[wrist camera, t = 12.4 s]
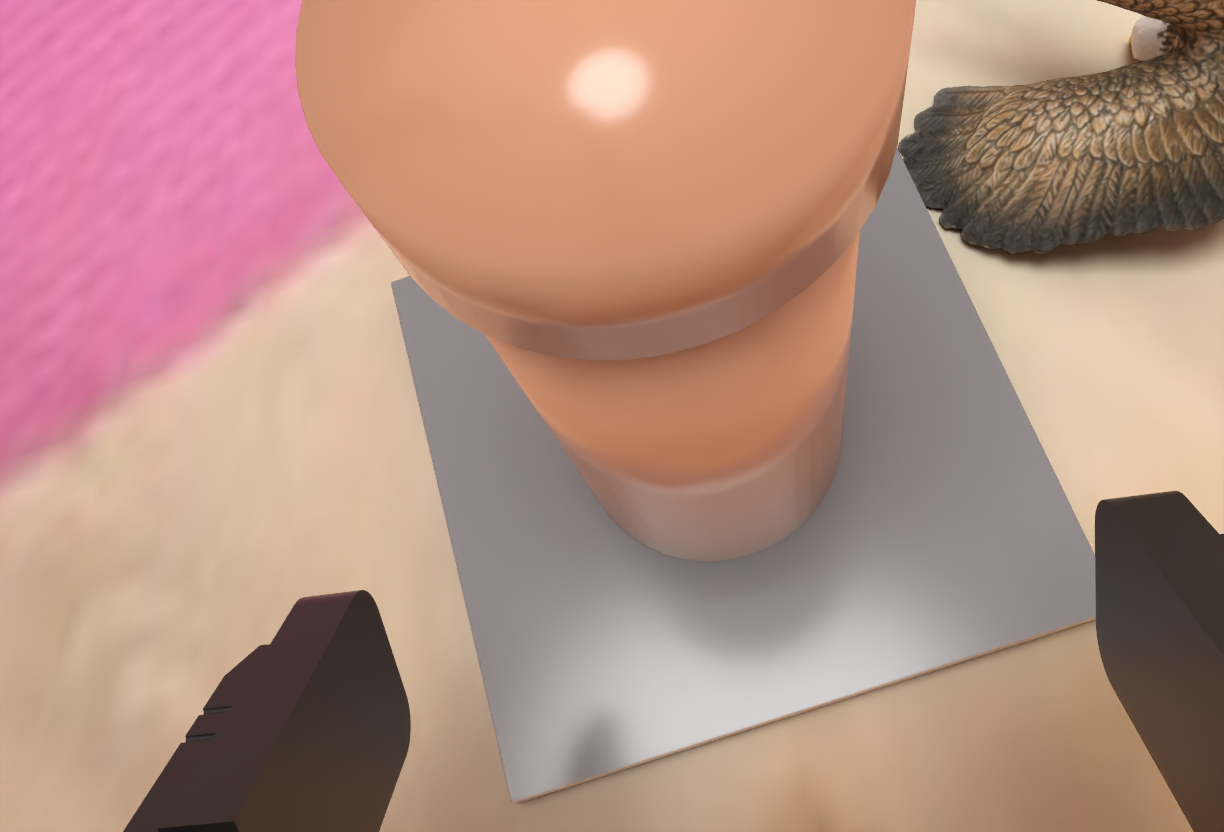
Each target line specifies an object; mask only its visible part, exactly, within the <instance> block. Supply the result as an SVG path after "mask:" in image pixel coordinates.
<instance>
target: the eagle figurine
mask: <svg viewBox="0 0 1224 832" xmlns="http://www.w3.org/2000/svg"><path fill="white" fill-rule="evenodd" d="M1097 1H1101V2H1105V3H1109V4H1112V5H1115V6H1118V7H1121V8H1124V9H1127V10H1130V11H1133V12H1137V13H1139V14H1142V15H1144V16H1145V17H1142V18H1140V19H1139V20H1138V21H1137V22H1136V24H1135V25H1134V27H1133V30H1132V35H1131V37H1130V44H1131V47H1132V53H1133V57H1134V58H1135V59H1138V60H1141V61H1143V62H1140V63H1136V64H1132V65H1128V66H1124V67H1120V68H1118V69H1115V70H1112V71H1108V72H1103V73H1098V74H1092V75H1085V76H1079V77H1070V78H1061V79H1054V80H1047V81H1042V82H1038V83H1033V84H1028V85H1015V86H987V87H980V86H962V87H953V88H944V89H941V90H940V91H938V92H937V94H936V95H935V96H934V105H933V106H932V107H930V108H928V109H926V110H925V111H923V112H920V113H919V114H918V115H916V117H915V119H914V124H915V128H916V133H913V134H910V135H907V136H906V137H905V138H903V139H902V140H901V141H900V143H899V146H898V150H899V152H900V153H901V154H902V156H903V157H904V159H903V161H904V163H905V165H906V168H907V170H908V172H909V174H910V176H911V178H912V180H913V182H914V184H915V186H916V188H917V190H918V192H919V194H920V196H921V198H922V200H923V203H924V205H925V206H928V207H931V208H943V209H944V211H943V213H942V214H941V216H940V218H939V222H940V223H941V224H942V226H943V227H945V228H955V229H962V230H963V231H962V233H961V236H962V237H963V239H964V240H965V241H967V242H968V243H970V244H975V245H980V246H983V247H985V248H989V249H997V248H1002V249H1003V250H1005V251H1007V252H1009V253H1012V254H1014V253H1017V254H1019V253H1022V252H1025V251H1028V250H1032V251H1034V252H1036V253H1048V252H1051V251H1053V249H1055V248H1056V247H1058V246H1059V245H1061V244H1066V245H1076V244H1091V243H1093V242H1096V241H1098V240H1099V239H1101V238H1102V237H1104V236H1105V235H1106V233H1110V234H1112V235H1114V236H1124V235H1126V234H1128V233H1131V232H1136V233H1142V234H1143V233H1144V232H1148V231H1150V230H1153V229H1155V228H1156V227H1158V226H1164V227H1165V228H1166V230H1168V231H1177V230H1179V229H1187V230H1190V231H1193V230H1198V229H1200V228H1201V227H1203V226H1204V225H1206V224H1213V223H1216V222H1218V221H1220V220H1222V219H1223V218H1224V0H1097Z"/></svg>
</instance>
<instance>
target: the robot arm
mask: <svg viewBox="0 0 1224 832" xmlns="http://www.w3.org/2000/svg"><path fill="white" fill-rule="evenodd" d="M1095 583H1096V631H1097V639H1098V645H1099V650H1100V654H1101V658H1102V662H1103V665H1104V668H1105V671H1106V674H1107V676H1108V679H1109V681H1110V683H1111V685H1112V687H1113V689H1114V691H1115V692H1116V694H1117V696H1118V698H1119V700H1120V701H1121V703H1122V705H1123V707H1124V708H1125V710H1126V712H1127V714H1128V715H1129V717H1130V719H1131V721H1132V723H1133V724H1134V726H1135V728H1136V730H1137V731H1138V733H1139V735H1140V737H1141V739H1142V740H1143V742H1144V744H1145V746H1146V747H1147V749H1148V751H1149V753H1150V755H1151V756H1152V758H1153V760H1154V762H1155V763H1156V765H1157V767H1158V769H1159V770H1160V772H1161V774H1162V776H1163V778H1164V779H1165V781H1166V783H1167V785H1168V786H1169V788H1170V790H1171V792H1172V794H1173V795H1174V797H1175V799H1176V801H1177V802H1178V804H1179V806H1180V808H1181V810H1182V811H1183V813H1184V815H1185V817H1186V818H1187V820H1188V822H1189V824H1190V825H1191V827H1192V829H1193V831H1194V832H1224V534H1219V533H1218V532H1217V531H1216V530H1215V529H1214V528H1213V527H1212V526H1211V524H1210V523H1209V522H1208V521H1207V520H1206V519H1205V518H1204V517H1203V516H1202V514H1201V513H1200V512H1199V511H1198V510H1197V509H1196V508H1195V507H1194V505H1193V504H1192V503H1191V502H1190V501H1189V500H1188V499H1187V498H1186V497H1185V496H1184V495H1183V494H1182V493H1180V492H1179V491H1171V492H1163V493H1154V494H1146V495H1138V496H1130V497H1122V498H1114V499H1106V500H1102V501H1100V502H1099V504H1098V506H1097V509H1096V514H1095ZM203 710H204V714H203V715H199V716H198V718H197V719H196V721H195V722H194V724H193V725H192V727H191V728H190V730H189V731H188V733H187V734H186V742H185V743H181V744H180V745H179V747H178V748H177V750H176V751H175V753H174V754H173V756H172V757H171V759H170V761H169V762H168V764H167V765H166V767H165V768H164V770H163V771H162V773H161V774H160V776H159V777H158V779H157V781H156V782H155V784H154V785H153V787H152V788H151V790H150V791H149V793H148V794H147V796H146V797H145V799H144V800H143V802H142V804H141V805H140V807H139V808H138V810H137V811H136V813H135V814H134V816H133V817H132V819H131V820H130V822H129V823H128V825H127V827H126V828H125V830H124V831H123V832H379V830H380V827H381V824H382V821H383V819H384V816H385V813H386V810H387V808H388V805H389V802H390V799H391V797H392V794H393V791H394V788H395V785H396V783H397V780H398V777H399V774H400V772H401V769H402V766H403V763H404V761H405V758H406V755H407V752H408V747H409V742H410V730H411V726H410V711H409V704H408V699H407V696H406V692H405V689H404V686H403V683H402V680H401V677H400V674H399V671H398V668H397V665H396V662H395V659H394V656H393V653H392V650H391V647H390V644H389V641H388V637H387V634H386V631H385V628H384V625H383V622H382V619H381V616H380V613H379V610H378V607H377V605H376V603H375V601H374V599H373V597H372V596H371V595H370V594H369V593H368V592H367V591H365V590H359V591H351V592H343V593H335V594H327V595H319V596H311V597H304V598H301V599H299V600H298V601H297V602H296V604H295V605H294V607H293V608H292V610H291V611H290V613H289V615H288V616H287V618H286V620H285V621H284V623H283V624H282V626H281V628H280V629H279V631H278V633H277V634H276V636H275V637H274V639H273V641H272V642H271V644H269V645H261V646H259V647H258V648H257V649H255V650H254V651H253V652H252V653H251V654H250V655H248V656H247V657H246V658H245V659H244V660H243V661H241V662H240V663H239V664H238V665H237V666H236V667H234V668H233V669H232V670H231V671H230V672H229V673H227V674H226V675H225V676H224V678H223V679H222V681H221V682H220V684H219V685H218V687H217V688H216V690H215V691H214V693H213V695H212V696H211V698H210V699H209V701H208V702H207V704H206V705H205V707H204V708H203Z"/></svg>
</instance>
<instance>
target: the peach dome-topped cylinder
mask: <svg viewBox="0 0 1224 832" xmlns="http://www.w3.org/2000/svg"><path fill="white" fill-rule="evenodd" d="M915 5H916V0H303V1H302V6H301V11H300V17H299V22H298V27H297V32H296V55H295V67H296V76H297V84H298V93H299V98H300V101H301V105H302V108H303V112H304V115H305V119H306V122H307V126H308V128H309V130H310V132H311V134H312V136H313V138H314V140H315V142H316V145H317V147H318V149H319V151H320V153H321V155H322V156H323V158H324V159H325V161H326V162H327V163H328V165H329V166H330V168H331V169H332V171H333V172H334V173H335V175H336V176H337V178H338V179H339V181H340V182H341V183H342V185H343V186H344V187H345V189H346V190H347V191H348V193H349V194H350V195H351V197H352V198H353V199H354V201H355V202H356V203H357V205H358V206H359V207H360V209H361V210H362V211H363V213H364V214H365V216H366V217H367V218H368V220H369V221H370V222H371V224H372V225H373V226H374V228H375V229H376V230H377V232H378V233H379V234H380V236H381V237H382V238H383V240H384V241H385V242H386V244H387V245H388V246H389V248H390V249H391V250H392V252H393V253H394V255H395V256H396V257H397V259H398V260H399V261H400V263H401V264H402V265H403V267H404V268H405V269H406V271H407V272H408V273H409V275H410V276H411V277H412V279H413V280H414V281H415V282H416V283H417V284H418V285H419V286H420V287H421V288H422V289H423V290H424V291H425V292H426V293H427V294H428V295H429V296H430V297H431V298H432V299H433V301H435V302H436V303H437V304H438V305H440V306H441V307H442V308H444V309H445V310H446V311H448V312H449V313H450V314H452V315H453V316H454V317H456V318H457V319H458V320H460V321H461V322H463V323H465V324H467V325H469V326H470V327H472V328H474V329H476V330H478V331H479V332H481V333H483V334H485V335H486V337H487V338H488V340H489V341H490V343H491V344H492V346H493V347H494V349H495V350H496V352H497V353H498V355H499V356H500V358H501V359H502V360H503V362H504V363H505V365H506V366H507V368H508V369H509V371H510V372H511V374H512V375H513V377H514V378H515V380H516V381H517V383H518V384H519V385H520V387H521V388H522V390H523V391H524V393H525V394H526V396H527V397H528V399H529V400H530V402H531V403H532V405H533V406H534V408H535V409H536V410H537V412H538V413H539V415H540V416H541V418H542V419H543V421H544V422H545V424H546V425H547V427H548V428H549V430H550V431H551V433H552V434H553V436H554V437H555V438H556V440H557V441H558V443H559V444H560V446H561V447H562V449H563V450H564V452H565V453H566V455H567V456H568V458H569V459H570V461H571V462H572V463H573V465H574V466H575V468H576V469H577V471H578V472H579V474H580V475H581V477H582V478H583V480H584V481H585V483H586V484H587V486H588V487H589V489H590V490H591V491H592V493H593V494H594V496H595V497H596V499H597V500H598V502H599V503H600V505H601V506H602V507H603V509H604V510H605V512H606V513H607V514H608V516H609V517H610V518H611V519H612V520H613V521H614V522H615V523H616V524H617V525H618V526H619V527H620V528H621V529H622V530H623V531H625V532H626V533H627V534H628V535H630V536H631V537H632V538H633V539H635V540H637V541H638V542H640V543H642V544H643V545H645V546H647V547H649V548H651V549H653V550H656V551H658V552H660V553H663V554H666V555H670V556H673V557H677V558H680V559H687V560H694V561H722V560H730V559H736V558H740V557H744V556H748V555H751V554H754V553H756V552H759V551H762V550H764V549H767V548H769V547H770V546H772V545H774V544H776V543H778V542H780V541H781V540H783V539H784V538H786V537H787V536H789V535H790V534H791V533H793V532H794V531H795V530H797V529H798V528H799V527H800V526H801V525H802V524H803V523H804V522H805V521H806V520H807V519H808V518H809V517H810V516H811V515H812V514H813V512H814V511H815V510H816V509H817V507H818V506H819V505H820V503H821V502H822V500H823V498H824V497H825V495H826V493H827V492H828V490H829V488H830V486H831V483H832V481H833V479H834V476H835V474H836V470H837V467H838V463H839V459H840V453H841V445H842V434H843V423H844V411H845V399H846V388H847V376H848V364H849V353H850V341H851V329H852V317H853V306H854V294H855V282H856V271H857V259H858V247H859V236H860V230H861V228H862V227H863V225H864V224H865V222H866V220H867V219H868V217H869V216H870V214H871V212H872V211H873V209H874V208H875V206H876V204H877V201H878V199H879V197H880V195H881V192H882V190H883V188H884V186H885V183H886V181H887V179H888V176H889V174H890V170H891V166H892V163H893V159H894V155H895V152H896V148H897V144H898V137H899V129H900V122H901V114H902V106H903V99H904V91H905V83H906V76H907V68H908V60H909V53H910V45H911V37H912V30H913V22H914V14H915Z"/></svg>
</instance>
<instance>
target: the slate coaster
mask: <svg viewBox="0 0 1224 832" xmlns="http://www.w3.org/2000/svg"><path fill="white" fill-rule="evenodd" d="M391 285H392V290H393V294H394V298H395V302H396V307H397V311H398V315H399V320H400V324H401V328H402V333H403V337H404V341H405V345H406V350H407V354H408V358H409V363H410V367H411V371H412V376H413V380H414V384H415V389H416V393H417V397H418V401H419V406H420V410H421V414H422V419H423V423H424V427H425V432H426V436H427V440H428V445H429V449H430V453H431V457H432V462H433V466H434V470H435V475H436V479H437V483H438V488H439V492H440V496H441V500H442V505H443V509H444V513H445V518H446V522H447V526H448V531H449V535H450V539H451V544H452V548H453V552H454V556H455V561H456V565H457V569H458V574H459V578H460V582H461V587H462V591H463V595H464V600H465V604H466V608H467V612H468V617H469V621H470V625H471V630H472V634H473V638H474V643H475V647H476V651H477V655H478V660H479V664H480V668H481V673H482V677H483V681H484V686H485V690H486V694H487V699H488V703H489V707H490V711H491V716H492V720H493V724H494V729H495V733H496V737H497V742H498V746H499V750H500V755H501V759H502V763H503V767H504V772H505V776H506V780H507V785H508V789H509V793H510V798H511V802H517V803H521V802H524V801H527V800H530V799H533V798H536V797H540V796H543V795H546V794H549V793H552V792H555V791H558V790H562V789H565V788H568V787H571V786H574V785H577V784H580V783H584V782H587V781H590V780H593V779H596V778H599V777H602V776H606V775H609V774H612V773H615V772H618V771H621V770H624V769H628V768H631V767H634V766H637V765H640V764H643V763H646V762H650V761H653V760H656V759H659V758H662V757H665V756H668V755H672V754H675V753H678V752H681V751H684V750H687V749H691V748H694V747H697V746H700V745H703V744H706V743H709V742H713V741H716V740H719V739H722V738H725V737H728V736H731V735H735V734H738V733H741V732H744V731H747V730H750V729H753V728H757V727H760V726H763V725H766V724H769V723H772V722H775V721H779V720H782V719H785V718H788V717H791V716H794V715H797V714H801V713H804V712H807V711H810V710H813V709H816V708H819V707H823V706H826V705H829V704H832V703H835V702H838V701H841V700H845V699H848V698H851V697H854V696H857V695H860V694H863V693H867V692H870V691H873V690H876V689H879V688H882V687H885V686H889V685H892V684H895V683H898V682H901V681H904V680H907V679H911V678H914V677H917V676H920V675H923V674H926V673H929V672H933V671H936V670H939V669H942V668H945V667H948V666H951V665H955V664H958V663H961V662H964V661H967V660H970V659H973V658H977V657H980V656H983V655H986V654H989V653H992V652H995V651H999V650H1002V649H1005V648H1008V647H1011V646H1014V645H1017V644H1021V643H1024V642H1027V641H1030V640H1033V639H1036V638H1040V637H1043V636H1046V635H1049V634H1052V633H1055V632H1058V631H1062V630H1065V629H1068V628H1071V627H1074V626H1077V625H1080V624H1084V623H1087V622H1090V621H1093V620H1096V583H1095V555H1094V553H1093V551H1092V549H1091V547H1090V545H1089V543H1088V540H1087V538H1086V536H1085V534H1084V532H1083V530H1082V528H1081V526H1080V524H1079V522H1078V520H1077V518H1076V516H1075V514H1074V512H1073V510H1072V507H1071V505H1070V503H1069V501H1068V499H1067V497H1066V495H1065V493H1064V491H1063V489H1062V487H1061V485H1060V483H1059V481H1058V479H1057V477H1056V475H1055V472H1054V470H1053V468H1052V466H1051V464H1050V462H1049V460H1048V458H1047V456H1046V454H1045V452H1044V450H1043V448H1042V446H1041V444H1040V442H1039V439H1038V437H1037V435H1036V433H1035V431H1034V429H1033V427H1032V425H1031V423H1030V421H1029V419H1028V417H1027V415H1026V413H1025V411H1024V409H1023V407H1022V404H1021V402H1020V400H1019V398H1018V396H1017V394H1016V392H1015V390H1014V388H1013V386H1012V384H1011V382H1010V380H1009V378H1008V376H1007V374H1006V371H1005V369H1004V367H1003V365H1002V363H1001V361H1000V359H999V357H998V355H997V353H996V351H995V349H994V347H993V345H992V343H991V341H990V339H989V336H988V334H987V332H986V330H985V328H984V326H983V324H982V322H981V320H980V318H979V316H978V314H977V312H976V310H975V308H974V306H973V303H972V301H971V299H970V297H969V295H968V293H967V291H966V289H965V287H964V285H963V283H962V281H961V279H960V277H959V275H958V273H957V271H956V268H955V266H954V264H953V262H952V260H951V258H950V256H949V254H948V252H947V250H946V248H945V246H944V244H943V242H942V240H941V238H940V236H939V233H938V231H937V229H936V227H935V225H934V223H933V221H932V219H931V217H930V215H929V213H928V211H927V209H926V207H925V205H924V203H923V200H922V198H921V196H920V194H919V192H918V190H917V188H916V186H915V184H914V182H913V180H912V178H911V176H910V174H909V172H908V170H907V168H906V165H905V163H904V161H903V159H902V157H901V155H900V153H899V151H898V149H897V148H896V152H895V155H894V159H893V163H892V166H891V170H890V174H889V176H888V179H887V181H886V183H885V186H884V188H883V190H882V192H881V195H880V197H879V199H878V201H877V204H876V206H875V208H874V209H873V211H872V212H871V214H870V216H869V217H868V219H867V220H866V222H865V224H864V225H863V227H862V228H861V230H860V236H859V247H858V259H857V271H856V282H855V294H854V306H853V317H852V329H851V341H850V353H849V364H848V376H847V388H846V399H845V411H844V423H843V434H842V445H841V453H840V459H839V463H838V467H837V470H836V474H835V476H834V479H833V481H832V483H831V486H830V488H829V490H828V492H827V493H826V495H825V497H824V498H823V500H822V502H821V503H820V505H819V506H818V507H817V509H816V510H815V511H814V512H813V514H812V515H811V516H810V517H809V518H808V519H807V520H806V521H805V522H804V523H803V524H802V525H801V526H800V527H799V528H798V529H797V530H795V531H794V532H793V533H791V534H790V535H789V536H787V537H786V538H784V539H783V540H781V541H780V542H778V543H776V544H774V545H772V546H770V547H769V548H767V549H764V550H762V551H759V552H756V553H754V554H751V555H748V556H744V557H740V558H736V559H730V560H722V561H694V560H687V559H680V558H677V557H673V556H670V555H666V554H663V553H660V552H658V551H656V550H653V549H651V548H649V547H647V546H645V545H643V544H642V543H640V542H638V541H637V540H635V539H633V538H632V537H631V536H630V535H628V534H627V533H626V532H625V531H623V530H622V529H621V528H620V527H619V526H618V525H617V524H616V523H615V522H614V521H613V520H612V519H611V518H610V517H609V516H608V514H607V513H606V512H605V510H604V509H603V507H602V506H601V505H600V503H599V502H598V500H597V499H596V497H595V496H594V494H593V493H592V491H591V490H590V489H589V487H588V486H587V484H586V483H585V481H584V480H583V478H582V477H581V475H580V474H579V472H578V471H577V469H576V468H575V466H574V465H573V463H572V462H571V461H570V459H569V458H568V456H567V455H566V453H565V452H564V450H563V449H562V447H561V446H560V444H559V443H558V441H557V440H556V438H555V437H554V436H553V434H552V433H551V431H550V430H549V428H548V427H547V425H546V424H545V422H544V421H543V419H542V418H541V416H540V415H539V413H538V412H537V410H536V409H535V408H534V406H533V405H532V403H531V402H530V400H529V399H528V397H527V396H526V394H525V393H524V391H523V390H522V388H521V387H520V385H519V384H518V383H517V381H516V380H515V378H514V377H513V375H512V374H511V372H510V371H509V369H508V368H507V366H506V365H505V363H504V362H503V360H502V359H501V358H500V356H499V355H498V353H497V352H496V350H495V349H494V347H493V346H492V344H491V343H490V341H489V340H488V338H487V337H486V335H485V334H483V333H481V332H479V331H478V330H476V329H474V328H472V327H470V326H469V325H467V324H465V323H463V322H461V321H460V320H458V319H457V318H456V317H454V316H453V315H452V314H450V313H449V312H448V311H446V310H445V309H444V308H442V307H441V306H440V305H438V304H437V303H436V302H435V301H433V299H432V298H431V297H430V296H429V295H428V294H427V293H426V292H425V291H424V290H423V289H422V288H421V287H420V286H419V285H418V284H417V283H416V282H415V281H414V280H413V279H412V277H411V276H409V277H406V278H403V279H400V280H397V281H394V282H392V283H391Z"/></svg>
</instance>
